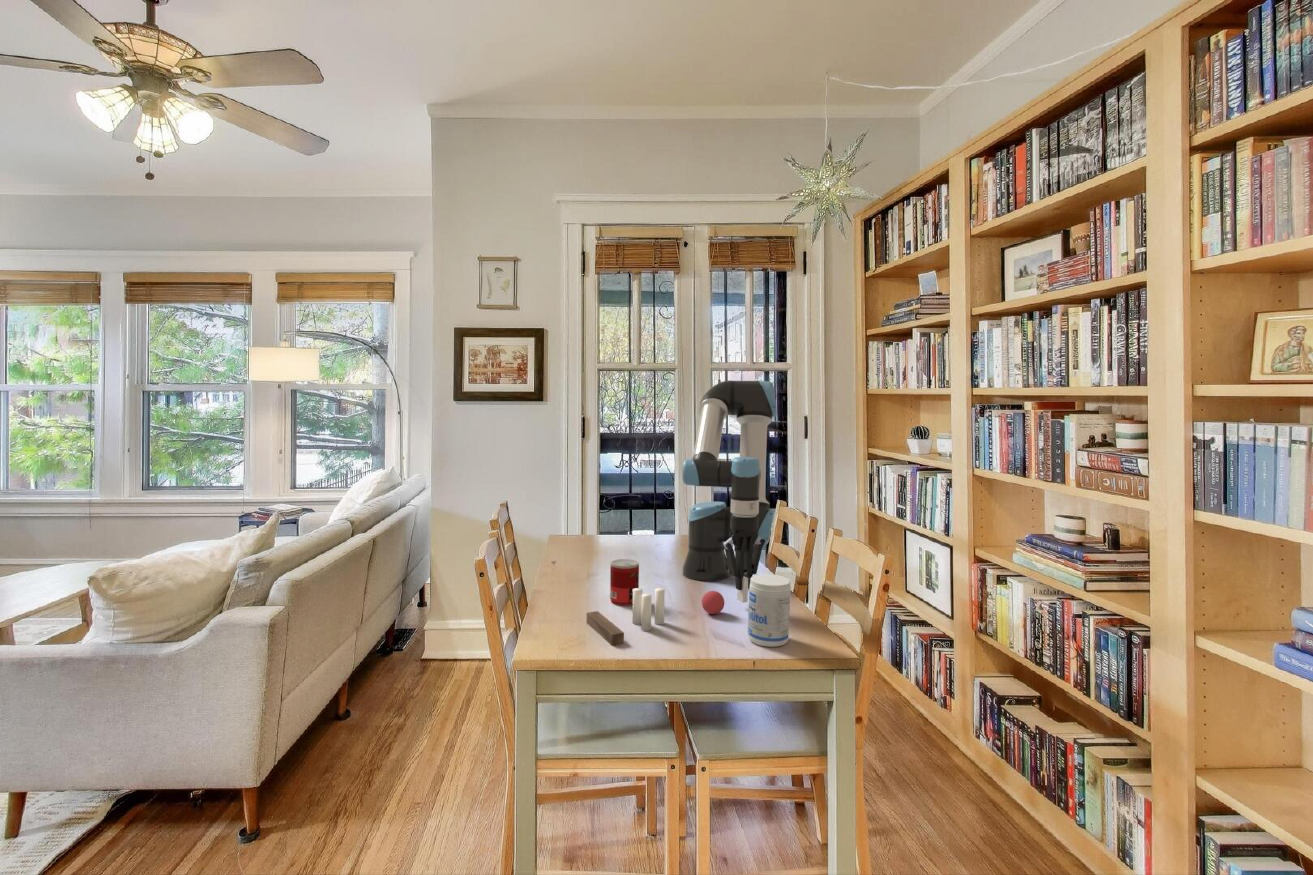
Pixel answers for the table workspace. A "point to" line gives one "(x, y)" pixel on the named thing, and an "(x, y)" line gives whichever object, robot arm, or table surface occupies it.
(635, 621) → the pin
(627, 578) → the canned food
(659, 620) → the front pin
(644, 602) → the pin
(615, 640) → the brown wooden bar
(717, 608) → the ball
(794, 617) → the table surface
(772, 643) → the supplement tub
